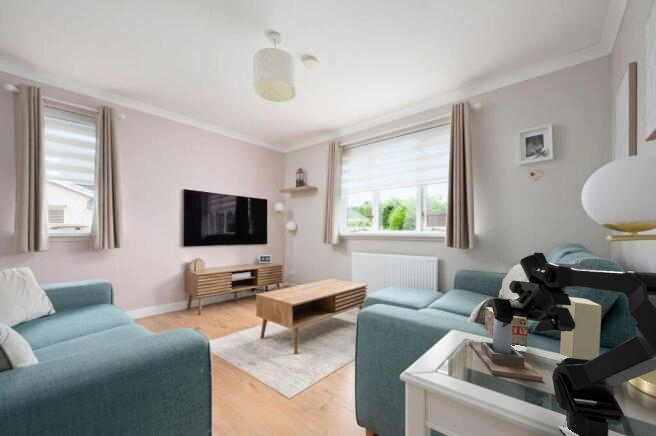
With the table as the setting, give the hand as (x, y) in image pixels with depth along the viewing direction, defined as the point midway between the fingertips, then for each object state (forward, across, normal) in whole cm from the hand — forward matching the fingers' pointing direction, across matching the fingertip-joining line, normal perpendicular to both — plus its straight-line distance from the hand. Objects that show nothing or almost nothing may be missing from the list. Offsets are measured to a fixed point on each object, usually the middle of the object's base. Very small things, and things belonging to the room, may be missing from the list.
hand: (518, 328), depth 80 cm
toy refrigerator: (+17, -24, 0) cm, 29 cm away
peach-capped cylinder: (+14, 0, +3) cm, 15 cm away
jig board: (+15, 0, +3) cm, 16 cm away
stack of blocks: (+29, -8, -11) cm, 32 cm away
